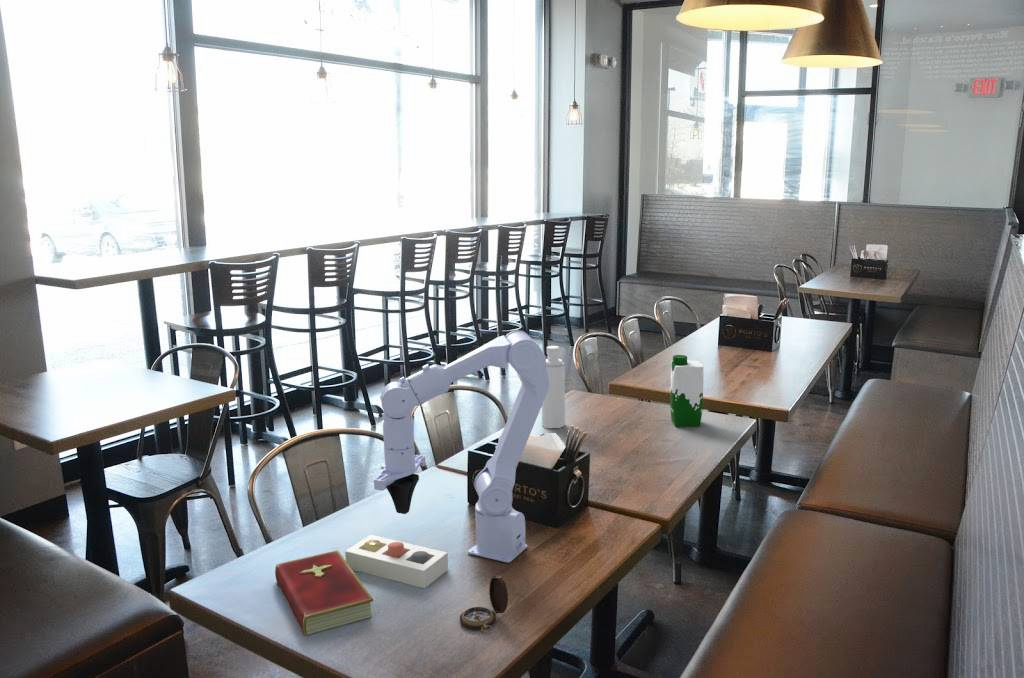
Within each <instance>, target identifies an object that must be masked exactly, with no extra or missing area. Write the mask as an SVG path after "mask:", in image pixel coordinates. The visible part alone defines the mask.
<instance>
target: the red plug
mask: <svg viewBox="0 0 1024 678" xmlns="http://www.w3.org/2000/svg"><path fill="white" fill-rule="evenodd" d="M401 542H402V541H400V542H393V543H390V544H389V545H388V556H391V557H395V558H400V557H401V556H403V555H404V544H403V543H401Z"/></svg>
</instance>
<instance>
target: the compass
mask: <svg viewBox="0 0 1024 678" xmlns="http://www.w3.org/2000/svg"><path fill="white" fill-rule="evenodd" d="M488 591H489V593H488V594H489V600H490V604H491V607H492V609H493V610H491V609H490V608H487V607H484V606H473V607H469V608H467V609H466V610H464V611H463V612H462V613H461V614H460V615H459V624H460V625H461V627H463V628H464V629H468V630H470V631H482V632H484V633H490V632H492V631H493V629H494V628H493V626H494V625H495V623H496V622H497V615H498V614H503V613H505V612H506V610H507V608H508V605H509V593H508V592H509V591H508V588H507V585H506V581H505V580H504V578H503V577H502V576H500V575H493V576H492V577H491V578H490V580H489V588H488ZM489 628H491V629H489ZM487 629H489V630H487Z"/></svg>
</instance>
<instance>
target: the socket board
mask: <svg viewBox="0 0 1024 678" xmlns="http://www.w3.org/2000/svg"><path fill="white" fill-rule="evenodd" d="M369 540H378V541H380V544H381V549H379V550H378V551H376V552H371V551H367V550H365V542H367V541H369ZM393 542H401V543H403V544H404V555H403V556H401V557H400V558H395V557H391V556H388V545H389V544H390V543H393ZM417 551H425V552H427V553H428V561H427V562H426V563H424V564H420V563H415V562H412V554H413V553H414V552H417ZM344 553H345V561H346V562H347V564H348V565H349V566H350V568H351V569H352V571H357V572H360V573H365V574H368V575H372V576H375V577H379V578H383V579H387V580H390V581H391V580H392V581H393V582H394V581H395V582H398V581H399V582H398V583H403V584H406V585H411V586H413V587H417V588H422V589H426V588H428V587H429V585H431V584H432V583H433V582H434V581H436V580H437V579H439V578H440V577H441V576H442V575H443V574H445V573H446V572H447V571H449V561H448V560H449V559H448V557H449V555H448V554H449V553H448V552H447V551H442V550H438V549H433V548H430V547H425V546H421V545H416V544H412V543H409V542H404V541H400V540H395V539H391V538H388V537H383V536H380V535H379V536H378V535H374V534H369V535H368V536H366V537H365V538H363V539H361V540H360V541H359V542H357V543H356V544H353V545H352V546H350V547H349V548H348V549H345V551H344Z"/></svg>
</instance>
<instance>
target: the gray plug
mask: <svg viewBox="0 0 1024 678" xmlns="http://www.w3.org/2000/svg"><path fill="white" fill-rule="evenodd" d="M427 561H428V553H427V552H425V551H417V552H414V553H413V554H412V562H415V563H420V564H424V563H426V562H427Z"/></svg>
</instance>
